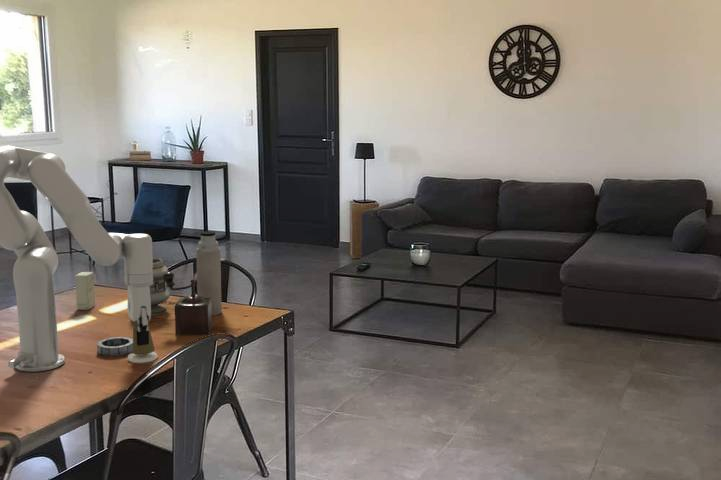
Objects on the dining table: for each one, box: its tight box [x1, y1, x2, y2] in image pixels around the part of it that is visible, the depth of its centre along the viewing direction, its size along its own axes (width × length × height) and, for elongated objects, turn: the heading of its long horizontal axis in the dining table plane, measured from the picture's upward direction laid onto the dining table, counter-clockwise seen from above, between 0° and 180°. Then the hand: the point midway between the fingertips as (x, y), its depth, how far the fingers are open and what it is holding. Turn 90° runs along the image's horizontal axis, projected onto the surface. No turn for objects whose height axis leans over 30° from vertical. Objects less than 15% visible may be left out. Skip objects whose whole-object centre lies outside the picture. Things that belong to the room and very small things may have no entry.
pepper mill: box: [162, 271, 213, 336], centre depth 238 cm, size 16×11×18 cm
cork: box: [129, 315, 156, 355], centre depth 211 cm, size 6×6×11 cm
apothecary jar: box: [150, 257, 171, 316], centre depth 258 cm, size 12×12×18 cm
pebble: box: [127, 351, 158, 364], centre depth 212 cm, size 8×8×1 cm
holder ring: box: [96, 336, 133, 357], centre depth 218 cm, size 10×10×2 cm
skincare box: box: [74, 271, 96, 311], centre depth 262 cm, size 6×4×12 cm
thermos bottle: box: [195, 231, 223, 316], centre depth 256 cm, size 8×8×28 cm
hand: (141, 341), depth 211 cm, fingers closed on cork, 4 cm apart
